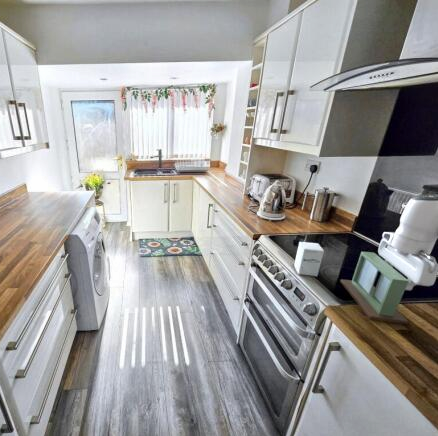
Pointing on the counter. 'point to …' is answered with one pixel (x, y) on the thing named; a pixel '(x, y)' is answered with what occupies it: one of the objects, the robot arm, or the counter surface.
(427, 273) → the robot arm
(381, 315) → the window frame
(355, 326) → the counter surface
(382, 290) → the sliding pane
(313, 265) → the white packaging box
